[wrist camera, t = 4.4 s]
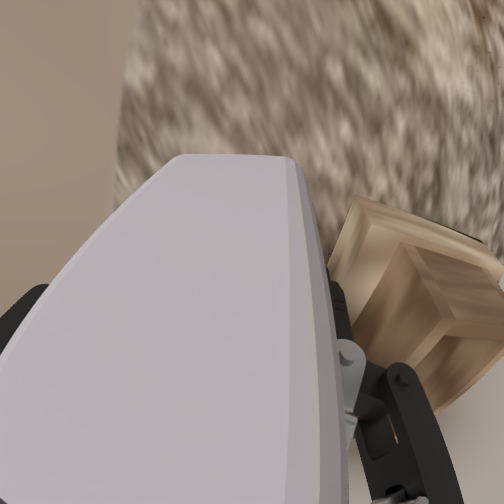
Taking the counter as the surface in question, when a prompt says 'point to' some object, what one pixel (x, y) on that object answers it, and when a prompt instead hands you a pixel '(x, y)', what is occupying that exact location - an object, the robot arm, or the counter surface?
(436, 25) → the counter surface
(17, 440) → the charger
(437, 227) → the wooden box
